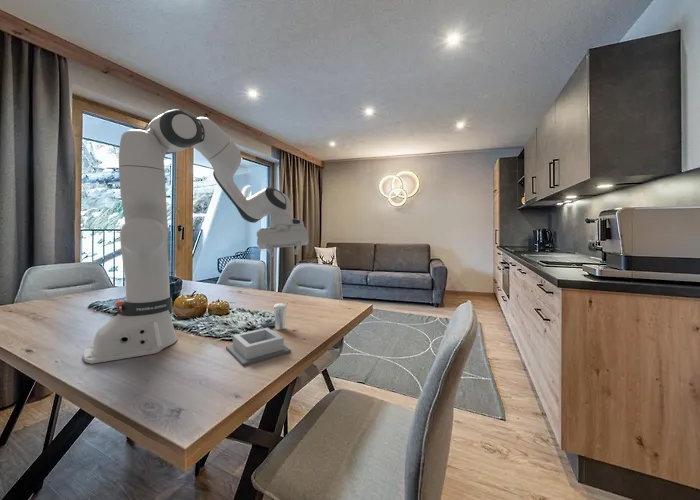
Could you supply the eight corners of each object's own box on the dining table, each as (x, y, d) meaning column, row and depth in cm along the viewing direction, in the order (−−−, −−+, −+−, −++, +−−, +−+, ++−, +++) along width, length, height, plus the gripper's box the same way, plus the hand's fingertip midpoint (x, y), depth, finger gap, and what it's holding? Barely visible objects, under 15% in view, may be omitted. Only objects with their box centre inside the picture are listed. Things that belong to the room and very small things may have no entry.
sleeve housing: (243, 366, 77) (242, 350, 77) (226, 348, 88) (225, 334, 88) (290, 352, 86) (290, 338, 86) (270, 338, 97) (270, 325, 97)
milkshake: (285, 331, 103) (285, 303, 103) (271, 330, 104) (271, 302, 104) (290, 327, 108) (290, 300, 107) (277, 326, 109) (276, 299, 108)
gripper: (255, 224, 118) (255, 253, 111) (306, 220, 121) (309, 247, 114) (258, 233, 123) (258, 261, 116) (307, 229, 127) (310, 256, 119)
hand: (284, 254), depth 115 cm, fingers open, 8 cm apart
